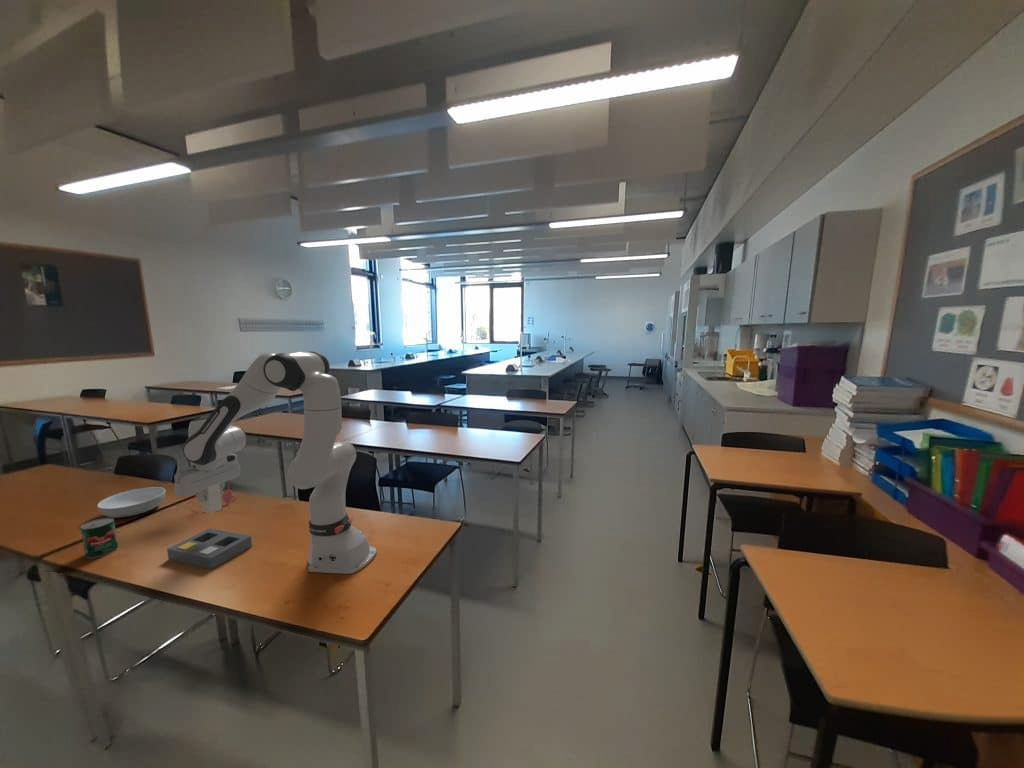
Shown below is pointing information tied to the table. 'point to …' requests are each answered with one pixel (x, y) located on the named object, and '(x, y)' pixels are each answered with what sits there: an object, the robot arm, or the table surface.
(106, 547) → the canned tomato
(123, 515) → the serving bowl
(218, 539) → the socket block
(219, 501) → the plug
